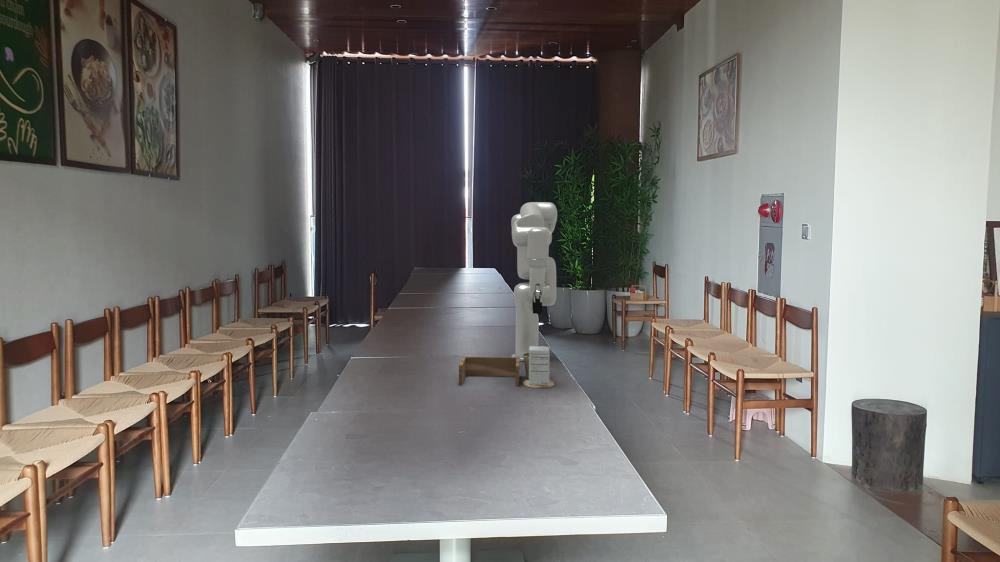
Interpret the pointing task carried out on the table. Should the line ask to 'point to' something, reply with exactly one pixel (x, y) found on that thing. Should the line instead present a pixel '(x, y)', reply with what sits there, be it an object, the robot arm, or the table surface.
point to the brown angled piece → (489, 367)
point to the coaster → (538, 385)
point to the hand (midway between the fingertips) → (537, 311)
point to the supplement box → (539, 365)
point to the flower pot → (526, 363)
